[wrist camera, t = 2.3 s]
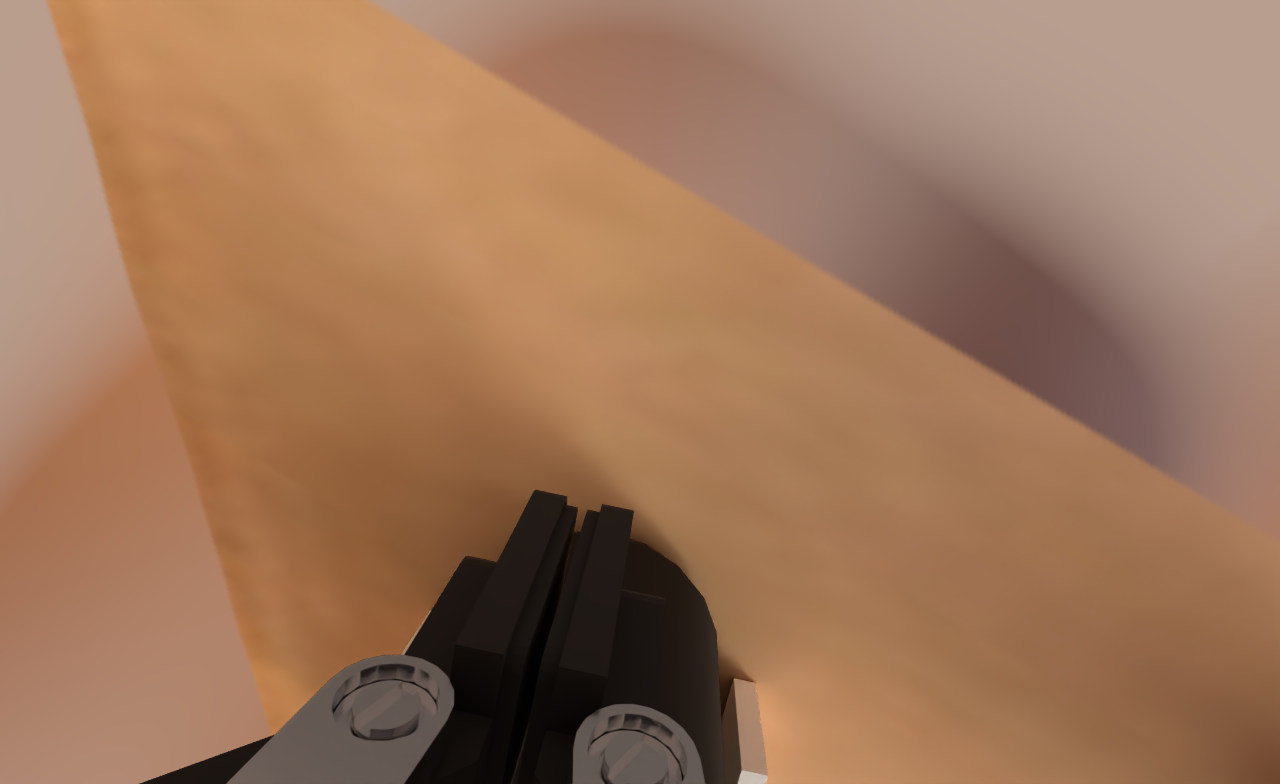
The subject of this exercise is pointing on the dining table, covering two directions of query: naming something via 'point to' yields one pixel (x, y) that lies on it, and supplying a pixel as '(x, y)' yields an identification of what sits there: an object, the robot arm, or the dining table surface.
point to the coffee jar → (679, 653)
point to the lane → (734, 733)
